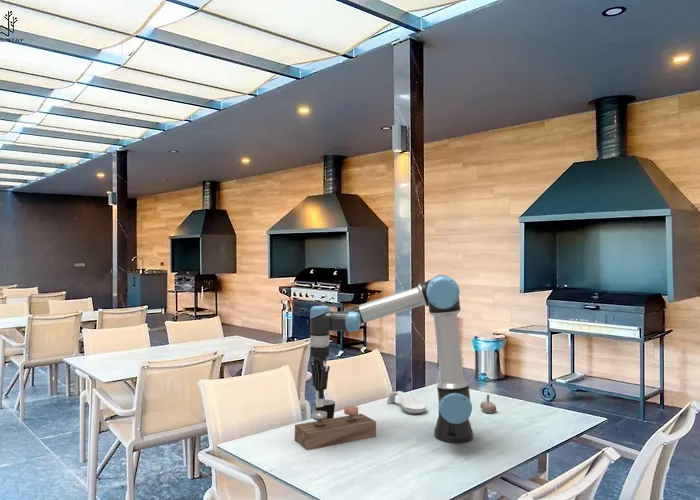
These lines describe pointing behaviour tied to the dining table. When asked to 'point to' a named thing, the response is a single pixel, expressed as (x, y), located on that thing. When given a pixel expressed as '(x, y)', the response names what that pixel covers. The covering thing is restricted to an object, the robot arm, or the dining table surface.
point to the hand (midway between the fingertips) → (319, 406)
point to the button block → (334, 431)
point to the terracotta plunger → (351, 411)
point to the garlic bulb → (488, 406)
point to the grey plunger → (319, 416)
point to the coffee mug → (327, 408)
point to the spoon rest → (407, 402)
